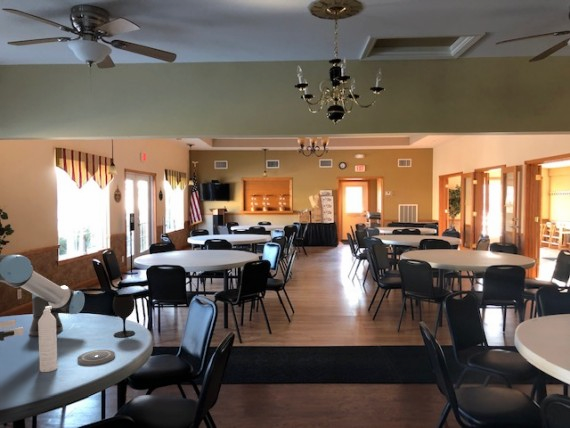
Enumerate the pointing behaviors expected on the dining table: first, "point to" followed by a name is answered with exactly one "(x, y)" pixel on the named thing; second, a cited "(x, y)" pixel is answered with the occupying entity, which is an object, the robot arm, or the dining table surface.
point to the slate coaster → (96, 357)
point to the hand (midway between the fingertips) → (19, 326)
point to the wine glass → (123, 312)
